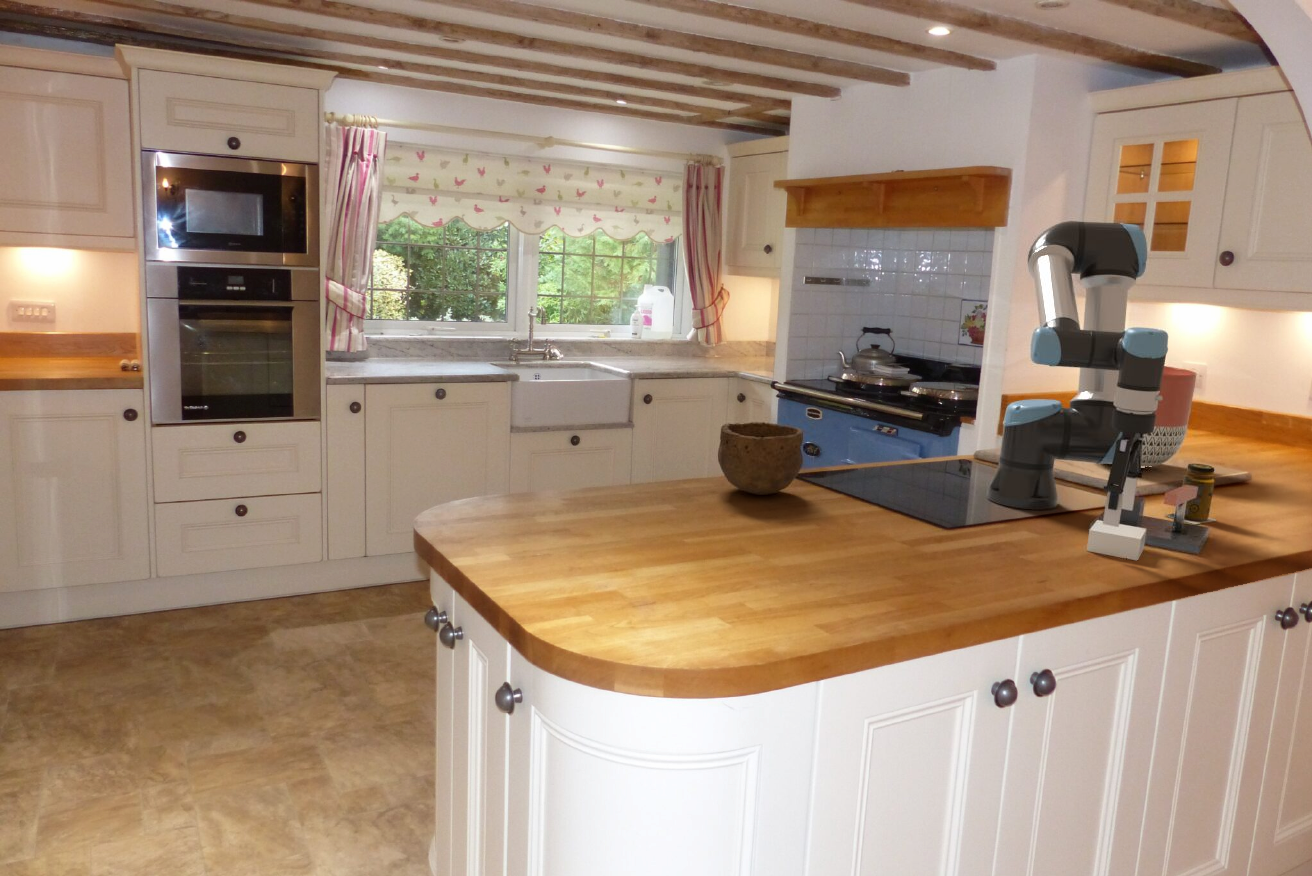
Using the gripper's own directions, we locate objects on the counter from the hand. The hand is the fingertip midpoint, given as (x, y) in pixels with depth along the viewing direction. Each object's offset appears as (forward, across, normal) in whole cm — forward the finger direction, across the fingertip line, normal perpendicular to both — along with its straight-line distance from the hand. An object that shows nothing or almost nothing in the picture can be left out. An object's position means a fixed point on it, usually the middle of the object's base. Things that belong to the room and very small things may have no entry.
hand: (1118, 516), depth 196 cm
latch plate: (+7, +15, -4) cm, 17 cm away
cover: (+6, -2, -1) cm, 6 cm away
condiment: (+8, +37, -9) cm, 39 cm away
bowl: (+7, -15, +72) cm, 73 cm away
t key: (+4, +15, -9) cm, 18 cm away
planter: (+9, +87, +13) cm, 89 cm away
